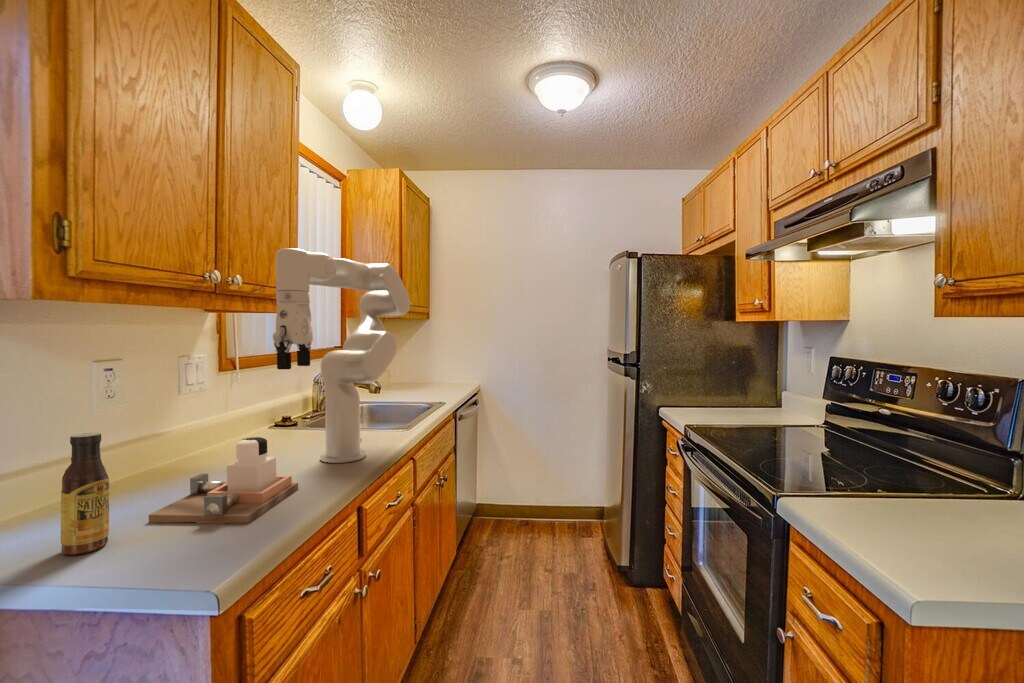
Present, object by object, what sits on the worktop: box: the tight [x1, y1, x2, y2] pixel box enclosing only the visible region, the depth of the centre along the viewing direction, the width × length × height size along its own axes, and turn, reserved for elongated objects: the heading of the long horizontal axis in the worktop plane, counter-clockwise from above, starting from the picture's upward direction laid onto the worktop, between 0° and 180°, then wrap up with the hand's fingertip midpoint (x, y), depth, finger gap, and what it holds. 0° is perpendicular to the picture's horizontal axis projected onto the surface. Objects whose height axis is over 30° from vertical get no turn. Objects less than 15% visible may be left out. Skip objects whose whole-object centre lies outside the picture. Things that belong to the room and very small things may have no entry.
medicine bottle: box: [226, 436, 277, 492], centre depth 106 cm, size 7×7×12 cm
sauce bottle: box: [60, 432, 110, 556], centre depth 82 cm, size 6×6×20 cm
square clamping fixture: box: [148, 473, 299, 525], centre depth 103 cm, size 20×20×5 cm
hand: (294, 367), depth 119 cm, fingers open, 9 cm apart
